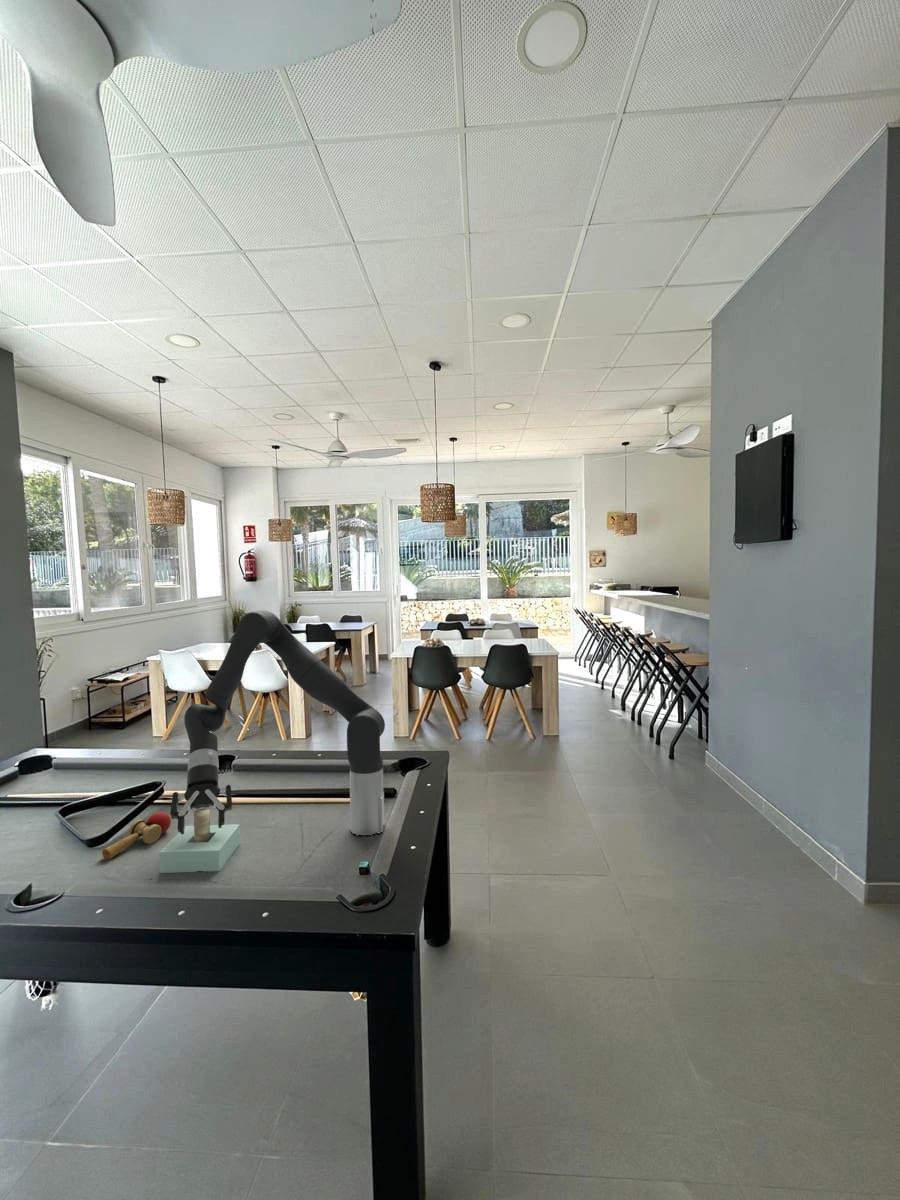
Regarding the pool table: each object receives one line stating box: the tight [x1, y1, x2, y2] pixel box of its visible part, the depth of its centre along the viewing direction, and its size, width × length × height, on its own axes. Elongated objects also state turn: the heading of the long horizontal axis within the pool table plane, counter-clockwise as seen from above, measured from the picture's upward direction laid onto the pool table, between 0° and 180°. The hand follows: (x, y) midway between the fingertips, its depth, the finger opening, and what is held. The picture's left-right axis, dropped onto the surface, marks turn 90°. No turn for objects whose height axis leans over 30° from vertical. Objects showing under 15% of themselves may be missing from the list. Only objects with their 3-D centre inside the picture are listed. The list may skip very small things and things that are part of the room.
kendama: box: [101, 811, 172, 861], centre depth 138 cm, size 8×6×18 cm
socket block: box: [158, 824, 241, 874], centre depth 131 cm, size 14×14×5 cm
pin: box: [193, 808, 211, 843], centre depth 131 cm, size 4×4×10 cm
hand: (201, 829), depth 129 cm, fingers open, 8 cm apart
